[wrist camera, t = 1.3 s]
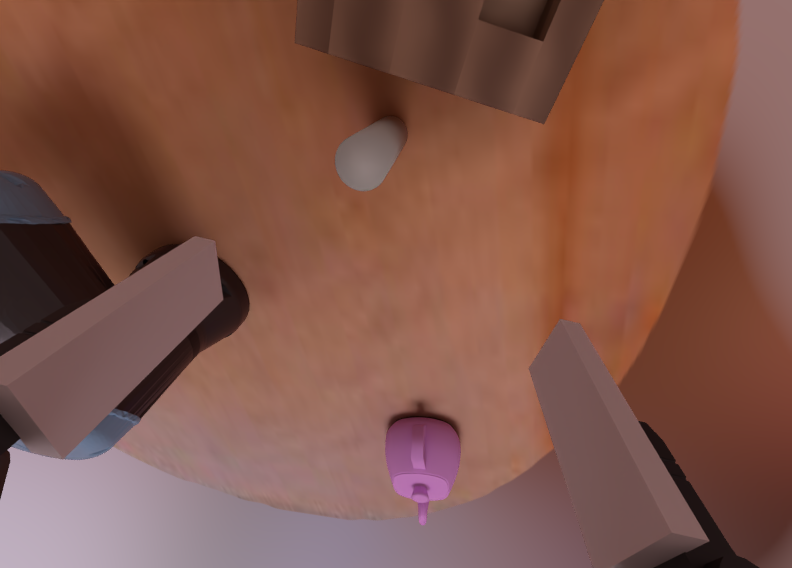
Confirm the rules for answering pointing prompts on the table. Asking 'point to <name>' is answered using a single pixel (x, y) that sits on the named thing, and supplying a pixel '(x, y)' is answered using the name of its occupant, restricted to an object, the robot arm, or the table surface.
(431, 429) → the teapot
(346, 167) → the pin
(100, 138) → the table surface
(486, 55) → the block
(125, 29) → the table surface
